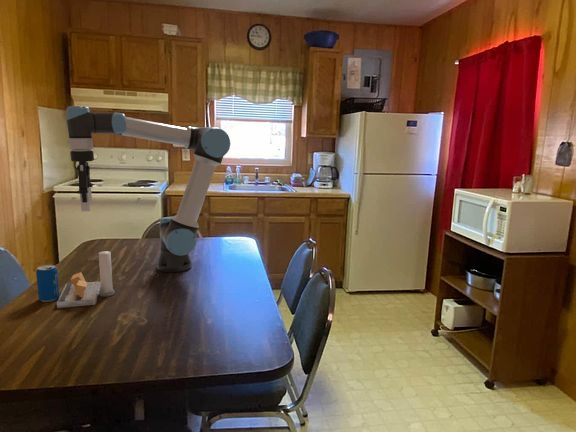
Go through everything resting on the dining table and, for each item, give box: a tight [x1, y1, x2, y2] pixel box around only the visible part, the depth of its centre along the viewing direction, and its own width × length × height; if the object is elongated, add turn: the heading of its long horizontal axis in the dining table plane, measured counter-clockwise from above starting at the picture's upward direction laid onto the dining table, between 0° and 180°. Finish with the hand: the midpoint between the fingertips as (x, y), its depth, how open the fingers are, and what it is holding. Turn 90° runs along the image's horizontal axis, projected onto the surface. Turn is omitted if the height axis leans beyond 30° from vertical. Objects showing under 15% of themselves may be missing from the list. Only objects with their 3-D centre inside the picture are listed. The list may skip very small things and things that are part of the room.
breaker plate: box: [56, 281, 101, 309], centre depth 152 cm, size 12×18×2 cm, turn 19°
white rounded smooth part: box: [98, 250, 116, 298], centre depth 153 cm, size 5×5×16 cm
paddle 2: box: [73, 280, 89, 298], centre depth 147 cm, size 3×6×5 cm, turn 19°
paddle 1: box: [70, 271, 87, 289], centre depth 155 cm, size 3×6×5 cm, turn 18°
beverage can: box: [35, 264, 60, 303], centre depth 147 cm, size 6×6×12 cm
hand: (87, 207), depth 155 cm, fingers open, 13 cm apart
